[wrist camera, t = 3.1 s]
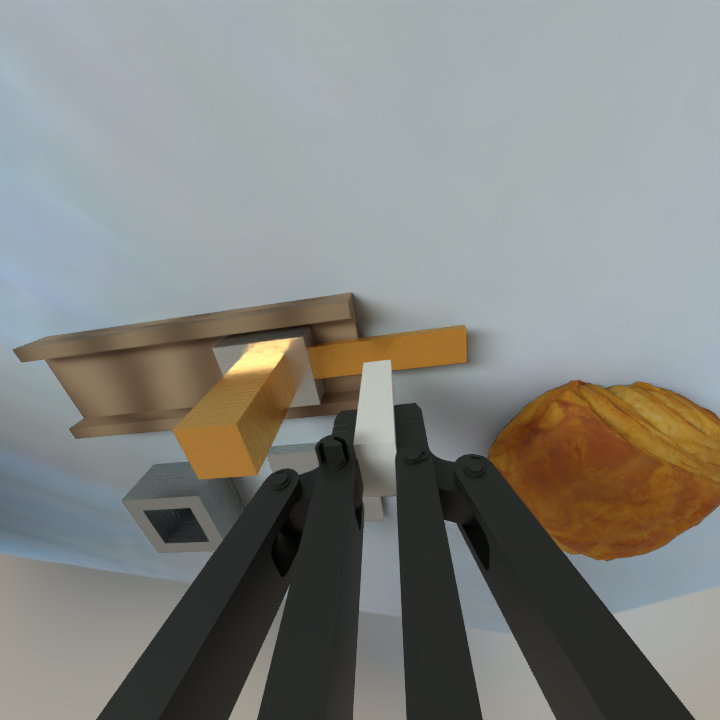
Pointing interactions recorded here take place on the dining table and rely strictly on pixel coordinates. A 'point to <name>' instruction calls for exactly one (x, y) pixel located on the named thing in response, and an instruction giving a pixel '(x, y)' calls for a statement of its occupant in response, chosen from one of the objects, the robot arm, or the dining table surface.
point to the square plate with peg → (305, 461)
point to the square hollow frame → (183, 508)
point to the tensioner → (288, 387)
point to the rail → (180, 364)
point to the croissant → (612, 466)
